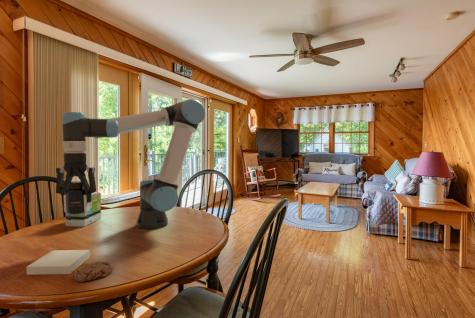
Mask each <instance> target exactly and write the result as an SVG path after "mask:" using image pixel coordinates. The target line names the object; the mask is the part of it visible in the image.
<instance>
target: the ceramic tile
mask: <svg viewBox="0 0 475 318" xmlns="http://www.w3.org/2000/svg"><path fill="white" fill-rule="evenodd" d="M90 257H91V250H90V249H66V250H63V249H60V250H59V249H53V250H51V251H50V252H48V253H46V254H45V255H43V256H41V257H39V258H38V259H36V260H35V261H33V262H32V263H30V264H29V265H27V266H26V275H30V276H31V275H70V274H72V273H73V272H74V271H75V270H77V269H78V267H80V266H81V265H82V264H84V263H85V262H86V261H87V260H88V259H89V258H90Z"/></svg>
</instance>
